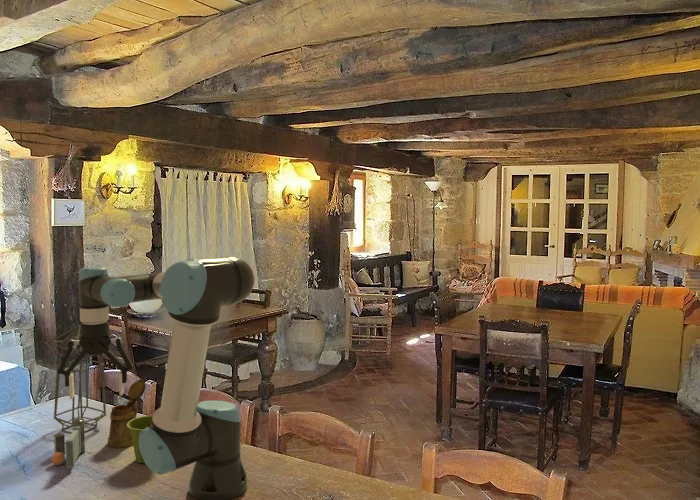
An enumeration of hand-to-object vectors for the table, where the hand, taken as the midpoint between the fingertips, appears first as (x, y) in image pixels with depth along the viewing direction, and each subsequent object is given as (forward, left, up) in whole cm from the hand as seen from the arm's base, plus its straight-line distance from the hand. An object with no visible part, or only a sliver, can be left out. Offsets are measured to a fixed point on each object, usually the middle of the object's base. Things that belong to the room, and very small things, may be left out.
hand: (97, 395), depth 175 cm
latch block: (+14, +7, -20) cm, 26 cm away
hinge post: (+12, +2, -20) cm, 24 cm away
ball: (+7, +9, -20) cm, 24 cm away
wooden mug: (+13, -13, -21) cm, 28 cm away
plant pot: (-5, -13, -21) cm, 25 cm away
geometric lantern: (+31, -4, -21) cm, 38 cm away
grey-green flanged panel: (+5, +5, -19) cm, 21 cm away
